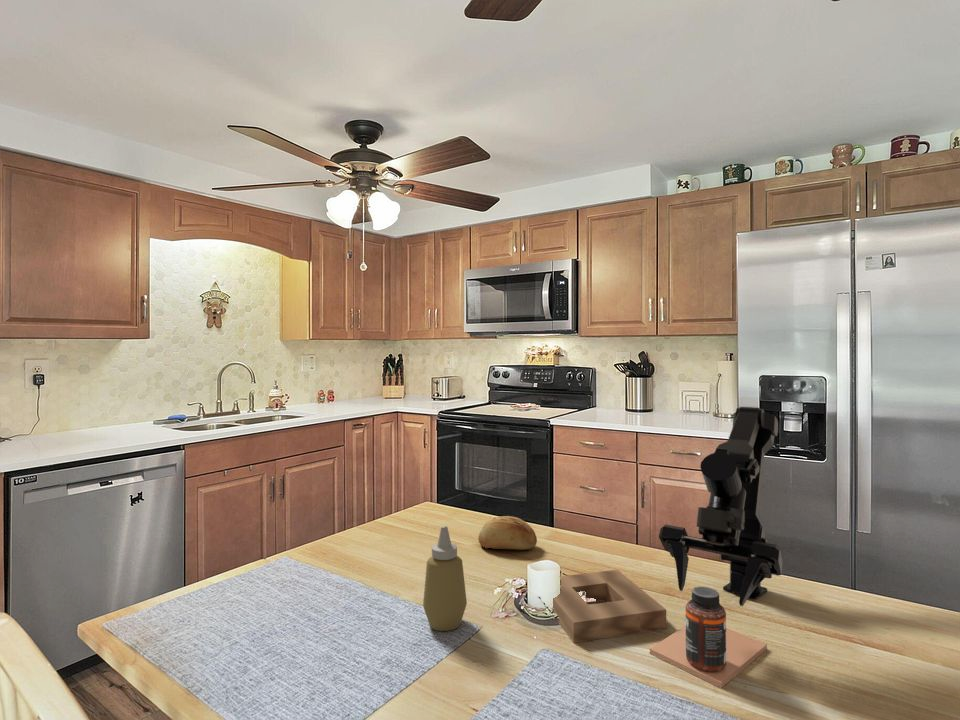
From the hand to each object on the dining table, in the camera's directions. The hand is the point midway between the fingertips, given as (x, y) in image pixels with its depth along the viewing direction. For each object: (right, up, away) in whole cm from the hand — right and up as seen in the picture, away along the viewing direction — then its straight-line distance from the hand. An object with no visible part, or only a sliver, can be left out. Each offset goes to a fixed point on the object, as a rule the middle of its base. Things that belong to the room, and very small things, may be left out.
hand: (709, 597), depth 87 cm
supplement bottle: (-1, -10, -2) cm, 10 cm away
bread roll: (-30, -10, +50) cm, 59 cm away
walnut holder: (-14, -10, +16) cm, 24 cm away
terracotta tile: (+1, -10, +3) cm, 11 cm away
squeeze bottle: (-44, -11, +12) cm, 47 cm away
